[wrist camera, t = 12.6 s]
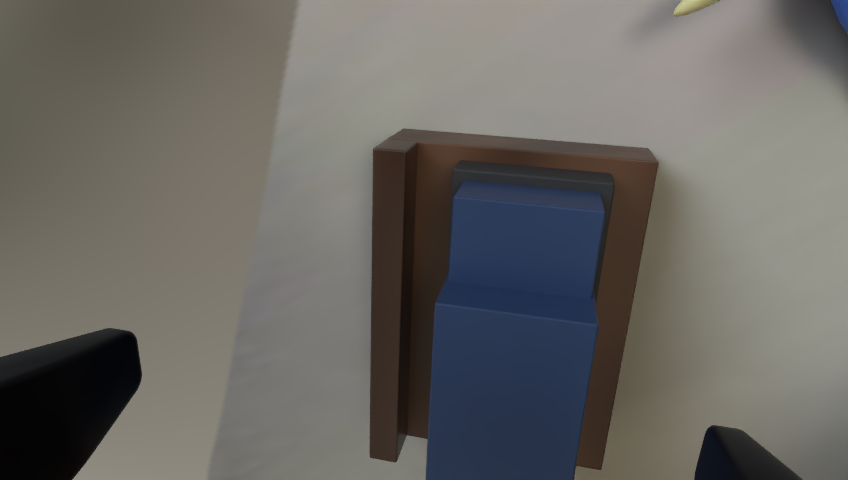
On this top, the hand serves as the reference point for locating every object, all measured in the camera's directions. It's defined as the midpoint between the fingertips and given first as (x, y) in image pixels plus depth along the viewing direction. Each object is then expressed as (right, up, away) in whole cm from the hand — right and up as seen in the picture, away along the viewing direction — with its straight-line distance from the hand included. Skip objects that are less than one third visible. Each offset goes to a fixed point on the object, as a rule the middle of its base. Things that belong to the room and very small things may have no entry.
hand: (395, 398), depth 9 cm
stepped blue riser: (+3, 0, +10) cm, 11 cm away
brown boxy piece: (+3, +1, +12) cm, 13 cm away
